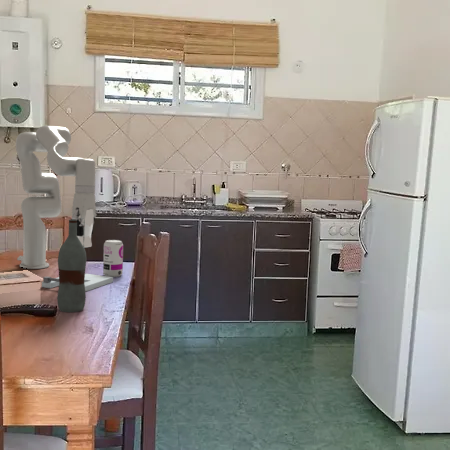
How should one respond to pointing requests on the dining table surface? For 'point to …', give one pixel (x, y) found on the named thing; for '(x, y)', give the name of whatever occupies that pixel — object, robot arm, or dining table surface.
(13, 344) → the dining table surface
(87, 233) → the beer glass
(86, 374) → the dining table surface
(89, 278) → the shelf board
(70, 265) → the bottle
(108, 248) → the supplement can
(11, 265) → the dining table surface
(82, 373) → the dining table surface
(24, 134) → the robot arm
